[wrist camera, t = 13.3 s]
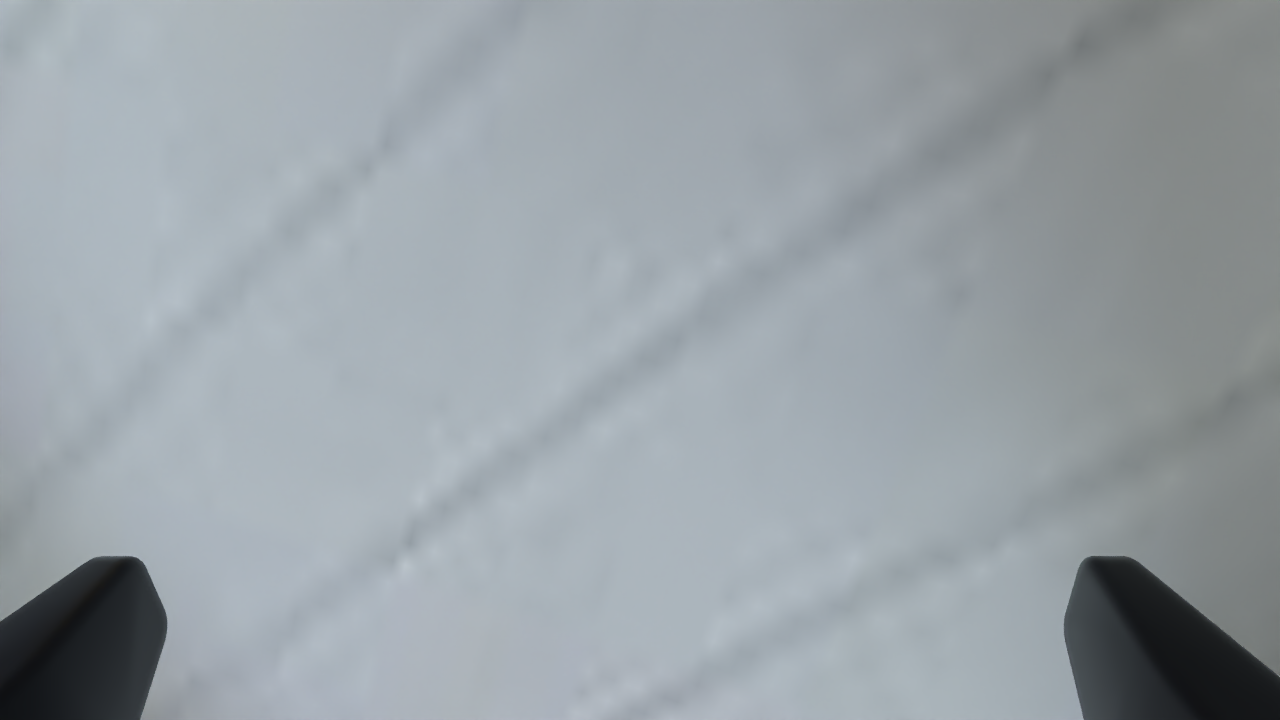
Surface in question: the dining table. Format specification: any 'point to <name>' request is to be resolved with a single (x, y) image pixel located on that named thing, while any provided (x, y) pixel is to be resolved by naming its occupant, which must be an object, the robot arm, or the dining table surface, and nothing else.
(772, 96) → the dining table surface
